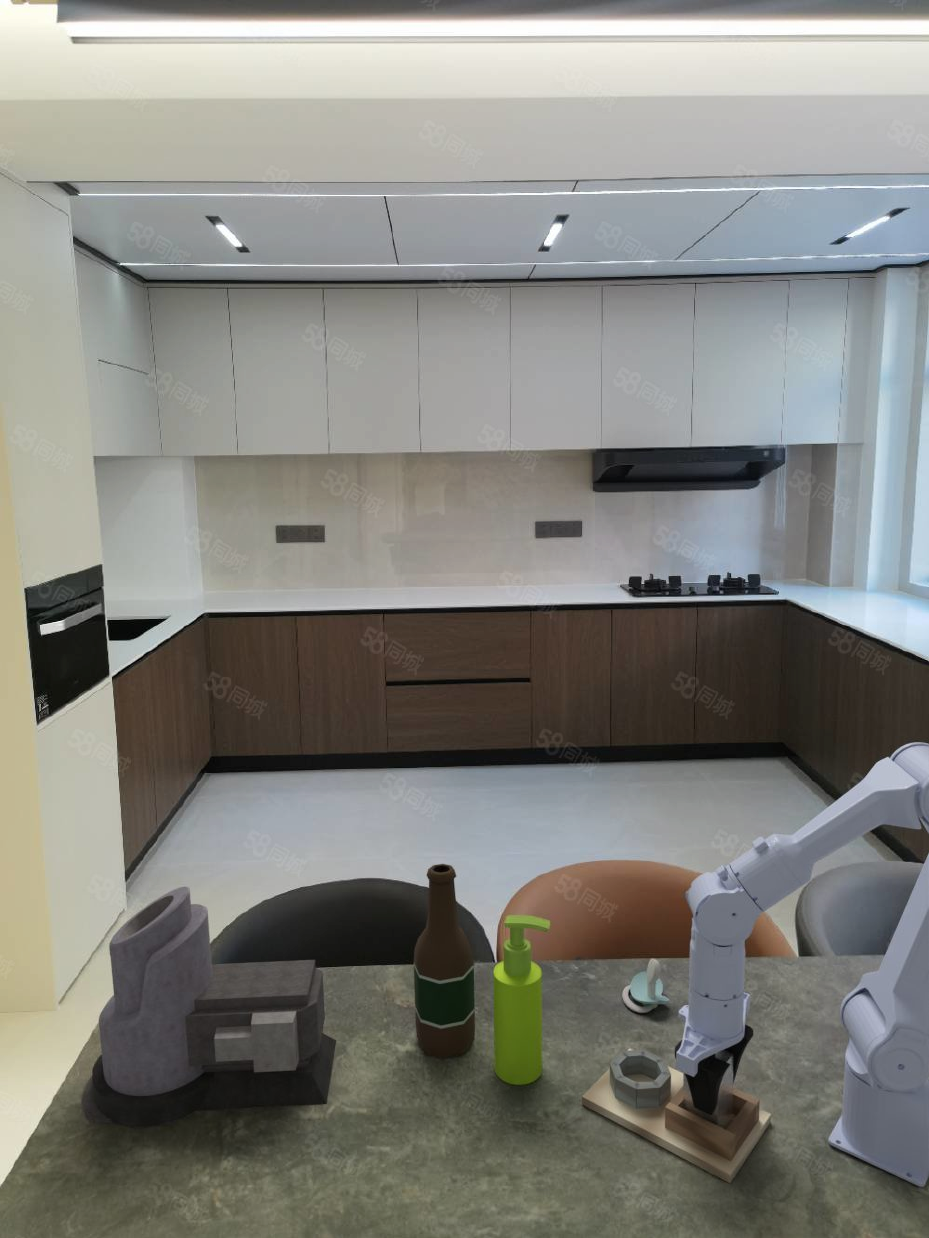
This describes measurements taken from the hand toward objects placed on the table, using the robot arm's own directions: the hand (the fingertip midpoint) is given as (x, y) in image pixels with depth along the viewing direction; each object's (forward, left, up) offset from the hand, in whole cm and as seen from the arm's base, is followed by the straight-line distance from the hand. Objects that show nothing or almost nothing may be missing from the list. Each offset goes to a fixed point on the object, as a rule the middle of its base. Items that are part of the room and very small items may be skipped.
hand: (712, 1097), depth 94 cm
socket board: (+5, 0, -4) cm, 6 cm away
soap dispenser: (+23, +5, -4) cm, 23 cm away
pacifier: (+18, -17, -5) cm, 25 cm away
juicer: (+52, +30, -5) cm, 60 cm away
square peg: (+1, 0, -3) cm, 3 cm away
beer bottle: (+34, +7, -4) cm, 35 cm away
